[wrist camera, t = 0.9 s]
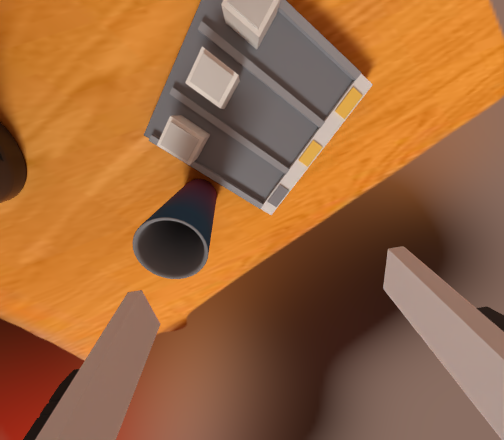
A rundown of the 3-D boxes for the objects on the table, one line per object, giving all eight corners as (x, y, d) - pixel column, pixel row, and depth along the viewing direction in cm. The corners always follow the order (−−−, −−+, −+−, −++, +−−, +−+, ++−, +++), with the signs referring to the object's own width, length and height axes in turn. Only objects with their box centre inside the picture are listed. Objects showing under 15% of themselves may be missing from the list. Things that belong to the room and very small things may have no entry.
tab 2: (225, 23, 23) (220, 2, 19) (243, -15, 22) (242, -47, 17) (256, 49, 24) (259, 35, 20) (275, 15, 23) (282, -8, 18)
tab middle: (194, 87, 26) (184, 82, 21) (209, 57, 24) (201, 45, 20) (224, 109, 27) (220, 108, 22) (239, 80, 25) (238, 74, 21)
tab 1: (169, 140, 28) (155, 145, 24) (181, 115, 27) (168, 115, 22) (197, 158, 29) (188, 166, 25) (210, 134, 28) (203, 138, 23)
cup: (206, 164, 32) (178, 204, 18) (230, 202, 34) (222, 261, 21) (168, 186, 33) (115, 238, 19) (194, 221, 36) (164, 288, 22)
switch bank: (149, 133, 30) (141, 135, 27) (225, -41, 22) (223, -60, 20) (269, 208, 35) (271, 215, 32) (362, 86, 28) (373, 84, 25)
